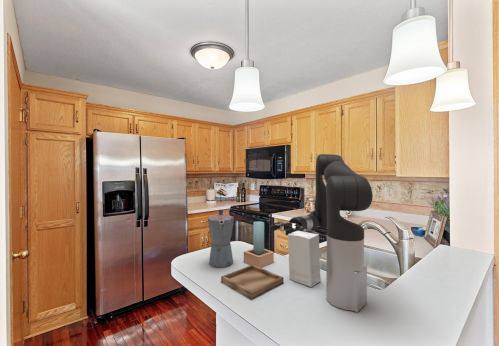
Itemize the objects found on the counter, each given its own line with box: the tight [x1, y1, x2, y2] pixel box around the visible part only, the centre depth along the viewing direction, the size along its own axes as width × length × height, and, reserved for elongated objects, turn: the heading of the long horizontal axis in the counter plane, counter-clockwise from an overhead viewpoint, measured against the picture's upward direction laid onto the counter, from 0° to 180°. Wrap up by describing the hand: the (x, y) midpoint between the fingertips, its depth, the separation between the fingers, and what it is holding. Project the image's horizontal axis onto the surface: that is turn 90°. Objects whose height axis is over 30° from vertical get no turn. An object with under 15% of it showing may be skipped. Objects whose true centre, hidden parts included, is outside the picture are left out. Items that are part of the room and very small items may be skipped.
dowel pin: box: [252, 221, 265, 256], centre depth 89 cm, size 4×4×15 cm
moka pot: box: [207, 209, 235, 269], centre depth 89 cm, size 10×15×20 cm, turn 14°
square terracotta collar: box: [243, 248, 275, 268], centre depth 89 cm, size 8×8×4 cm
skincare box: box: [287, 231, 322, 288], centre depth 75 cm, size 8×6×15 cm
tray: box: [220, 265, 285, 300], centre depth 73 cm, size 14×14×2 cm
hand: (278, 230), depth 97 cm, fingers open, 8 cm apart
